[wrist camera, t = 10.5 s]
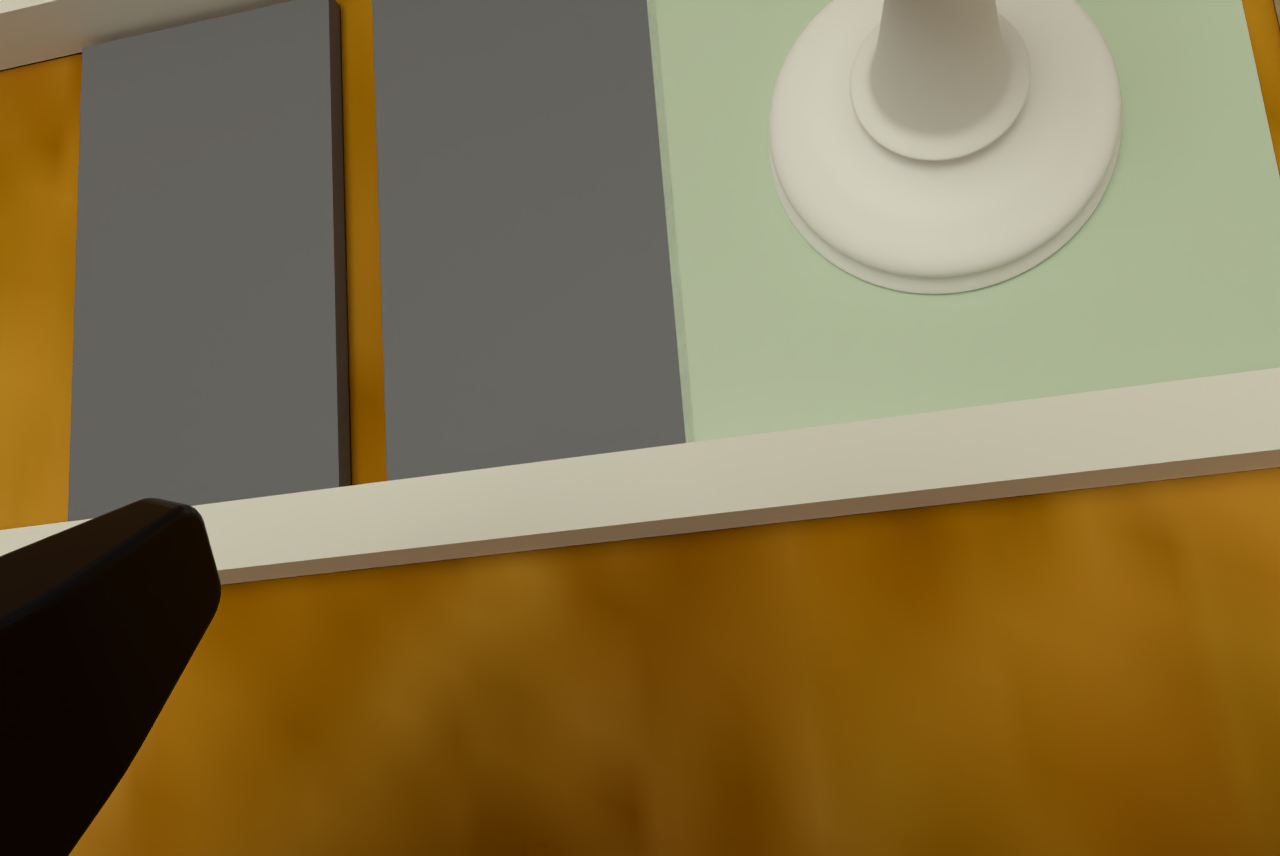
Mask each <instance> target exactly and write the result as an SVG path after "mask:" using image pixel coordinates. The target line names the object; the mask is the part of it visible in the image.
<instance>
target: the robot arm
mask: <svg viewBox="0 0 1280 856" xmlns="http://www.w3.org/2000/svg"><path fill="white" fill-rule="evenodd" d="M220 596H221V582H220V577H219V574H218V570H217V566H216V563H215V559H214V556H213V552H212V548H211V545H210V541H209V537H208V534H207V530H206V527H205V523H204V520H203V518H202V516H201V514H200V513H199V512H198V511H197V510H196V509H195V508H194V507H192V506H190V505H187V504H182V503H177V502H173V501H168V500H164V499H159V498H144V499H141V500H138V501H136V502H133V503H131V504H128V505H126V506H123V507H121V508H118V509H116V510H113V511H111V512H108V513H106V514H103V515H101V516H98V517H96V518H93V519H91V520H89V521H86V522H84V523H81V524H79V525H76V526H74V527H71V528H69V529H66V530H64V531H61V532H59V533H56V534H54V535H51V536H49V537H46V538H44V539H42V540H39V541H37V542H34V543H32V544H29V545H27V546H24V547H22V548H19V549H17V550H14V551H12V552H9V553H7V554H4V555H2V556H0V856H69V854H70V853H71V851H72V850H73V848H74V847H75V845H76V844H77V843H78V841H79V840H80V838H81V837H82V835H83V834H84V833H85V831H86V830H87V828H88V827H89V825H90V824H91V823H92V821H93V820H94V818H95V817H96V815H97V814H98V813H99V811H100V810H101V808H102V807H103V805H104V804H105V802H106V801H107V800H108V798H109V797H110V795H111V794H112V792H113V791H114V789H115V788H116V786H117V785H118V783H119V782H120V780H121V778H122V777H123V775H124V774H125V772H126V771H127V769H128V767H129V766H130V764H131V762H132V761H133V759H134V757H135V756H136V754H137V752H138V751H139V749H140V747H141V746H142V744H143V742H144V740H145V739H146V737H147V735H148V733H149V731H150V730H151V728H152V726H153V724H154V723H155V721H156V719H157V717H158V715H159V714H160V712H161V710H162V708H163V706H164V705H165V703H166V701H167V699H168V698H169V696H170V694H171V692H172V690H173V689H174V687H175V685H176V683H177V681H178V680H179V678H180V676H181V674H182V673H183V671H184V669H185V667H186V665H187V664H188V662H189V660H190V658H191V656H192V655H193V653H194V651H195V649H196V648H197V646H198V644H199V642H200V640H201V639H202V637H203V635H204V633H205V631H206V630H207V628H208V626H209V624H210V623H211V621H212V619H213V617H214V615H215V613H216V611H217V608H218V605H219V601H220Z"/></svg>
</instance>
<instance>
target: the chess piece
mask: <svg viewBox="0 0 1280 856" xmlns="http://www.w3.org/2000/svg"><path fill="white" fill-rule="evenodd" d="M1120 140H1121V95H1120V86H1119V80H1118V75H1117V71H1116V67H1115V64H1114V61H1113V58H1112V55H1111V53H1110V50H1109V48H1108V46H1107V44H1106V42H1105V40H1104V38H1103V36H1102V34H1101V33H1100V31H1099V30H1098V28H1097V27H1096V25H1095V24H1094V22H1093V21H1092V20H1091V18H1090V17H1089V16H1088V15H1087V13H1086V12H1085V11H1084V10H1083V9H1082V8H1081V7H1080V6H1079V5H1078V4H1077V3H1076V2H1075V1H1074V0H833V1H831V2H830V3H829V4H828V5H827V6H826V7H825V8H823V9H822V10H821V11H820V12H819V13H818V14H817V15H816V16H815V17H814V18H813V19H812V21H811V22H810V23H809V24H808V25H807V26H806V28H805V29H804V30H803V31H802V33H801V34H800V35H799V37H798V38H797V40H796V41H795V43H794V44H793V46H792V48H791V49H790V51H789V53H788V55H787V56H786V58H785V60H784V63H783V65H782V67H781V69H780V72H779V74H778V77H777V80H776V83H775V86H774V90H773V94H772V99H771V104H770V112H769V138H768V150H769V162H770V169H771V174H772V178H773V182H774V185H775V189H776V192H777V194H778V197H779V199H780V202H781V204H782V206H783V208H784V210H785V212H786V214H787V215H788V217H789V219H790V220H791V222H792V223H793V225H794V226H795V228H796V229H797V230H798V232H799V233H800V234H801V235H802V237H803V238H804V239H805V240H806V241H807V242H808V243H809V244H810V245H811V246H812V247H813V248H814V249H815V250H816V251H817V252H818V253H819V254H821V255H822V256H823V257H824V258H826V259H827V260H828V261H830V262H831V263H832V264H834V265H835V266H837V267H838V268H840V269H842V270H843V271H845V272H847V273H849V274H851V275H853V276H855V277H857V278H859V279H861V280H864V281H866V282H869V283H872V284H875V285H878V286H881V287H884V288H888V289H892V290H897V291H903V292H910V293H920V294H948V293H958V292H965V291H971V290H975V289H980V288H984V287H988V286H991V285H994V284H997V283H1000V282H1003V281H1005V280H1008V279H1010V278H1013V277H1015V276H1017V275H1019V274H1021V273H1023V272H1025V271H1027V270H1029V269H1031V268H1033V267H1034V266H1036V265H1038V264H1039V263H1041V262H1042V261H1044V260H1045V259H1047V258H1048V257H1050V256H1051V255H1052V254H1054V253H1055V252H1056V251H1057V250H1059V249H1060V248H1061V247H1062V246H1063V245H1065V244H1066V243H1067V242H1068V241H1069V240H1070V239H1071V238H1072V237H1073V236H1074V235H1075V234H1076V233H1077V232H1078V231H1079V230H1080V228H1081V227H1082V226H1083V225H1084V224H1085V222H1086V221H1087V220H1088V219H1089V217H1090V216H1091V214H1092V213H1093V212H1094V210H1095V209H1096V207H1097V205H1098V204H1099V202H1100V200H1101V199H1102V197H1103V195H1104V193H1105V191H1106V189H1107V187H1108V184H1109V182H1110V180H1111V177H1112V174H1113V171H1114V168H1115V165H1116V161H1117V157H1118V153H1119V147H1120Z"/></svg>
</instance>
